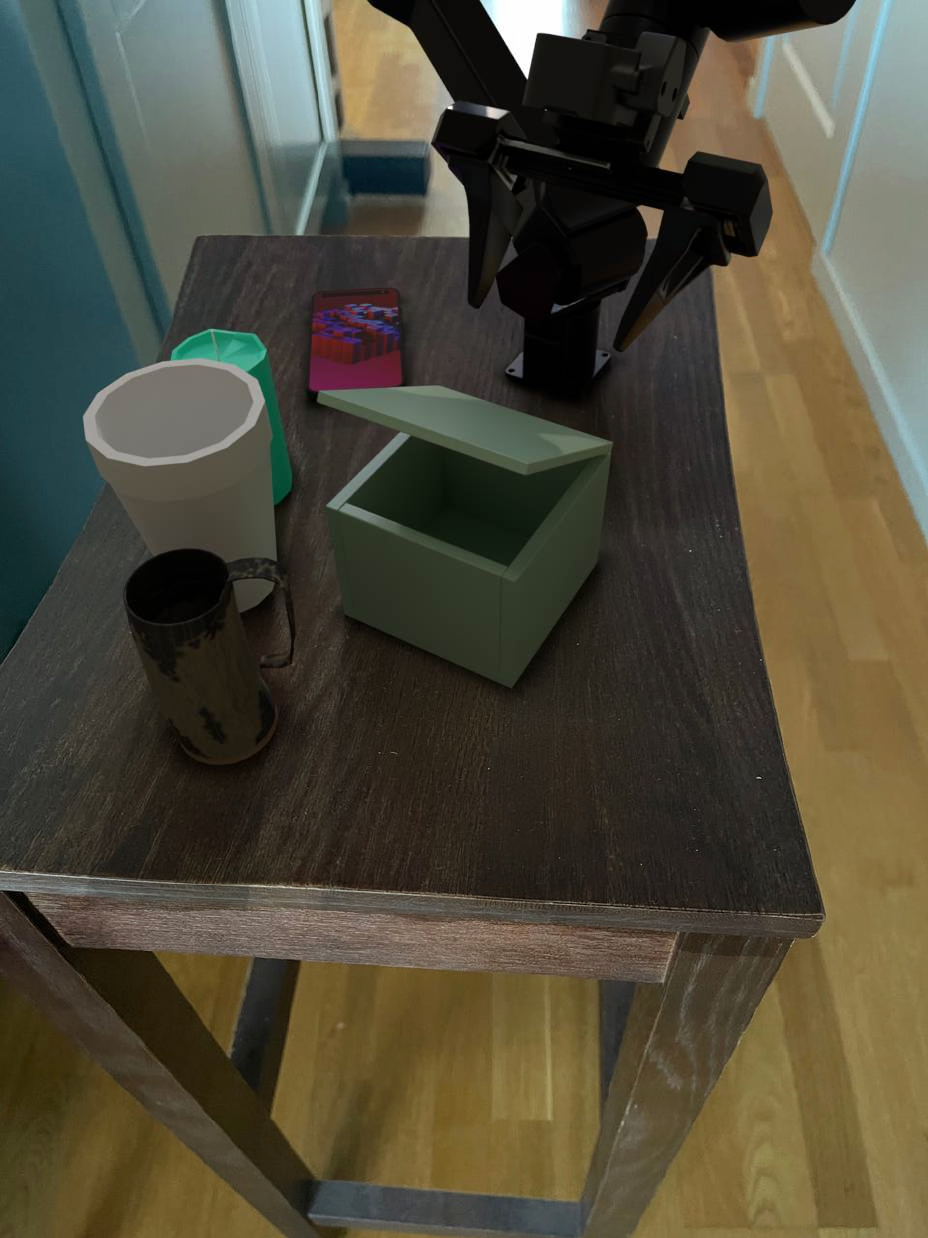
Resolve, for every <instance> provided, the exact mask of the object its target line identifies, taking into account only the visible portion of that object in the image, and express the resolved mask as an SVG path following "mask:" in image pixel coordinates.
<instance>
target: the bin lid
mask: <svg viewBox="0 0 928 1238" xmlns="http://www.w3.org/2000/svg"><path fill="white" fill-rule="evenodd" d="M316 403H318V404H320V405H323V406H326V407H329V408H332V409H335V410H337V411H340V412H343V413H345V414H346V413H347V414H349V415H352V416H355V417H357V418H360V419H363V420H365V421H369V422H372V423H374V424H377V425H380V426H382V427H385V428H388V429H391V430H394V431H397V432H399V433H400V432H403V433H405V434H408V435H411V436H414V437H417V438H420V439H422V440H425V441H428V442H431V443H434V444H437V445H440V446H442V447H445V448H448V449H451V450H454V451H457V452H459V453H462V454H465V455H468V456H471V457H474V458H476V459H479V460H482V461H485V462H488V463H491V464H493V465H496V466H499V467H502V468H505V469H508V470H510V471H513V472H516V473H519V474H522V475H529V474H533V473H536V472H540V471H544V470H547V469H551V468H555V467H558V466H562V465H565V464H569V463H573V462H576V461H580V460H584V459H587V458H591V457H595V456H598V455H602V454H606V453H609V452H611V453H612V450H613V446H614V442H613V441H611V440H608V439H604V438H601V437H599V436H596V435H592V434H589V433H586V432H583V431H580V430H576V429H573V428H571V427H568V426H565V425H561V424H558V423H556V422H553V421H549V420H547V419H544V418H540V417H537V416H534V415H530V414H527V413H524V412H522V411H518V410H516V409H513V408H509V407H506V406H502V405H500V404H497V403H494V402H491V401H488V400H484V399H481V398H479V397H476V396H472V395H469V394H466V393H463V392H460V391H457V390H454V389H451V388H448V387H445V386H442V385H437V384H435V385H416V386H415V385H414V386H405V387H390V388H369V389H347V390H325V391H319V393H318V399H317V400H316Z"/></svg>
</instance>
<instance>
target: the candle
mask: <svg viewBox="0 0 928 1238" xmlns="http://www.w3.org/2000/svg"><path fill="white" fill-rule="evenodd" d="M199 358H202V359H207V360H213V361H218V362H223V363H228V364H234V365H236V366H237V367H239V368H240V369H242V370H243V371H245V372H246V373H248V374H250V375H251V376H253V377H254V378H256V379H257V380H258V383H259V385H260V388H261V391H262V394H263V397H264V399H265V403H266V408H267V412H268V417H269V421H270V426H271V430H272V435H273V438H272V440H271V443H270V457H271V473H272V488H273V504H274V506H276V505H278V504H280V503H281V501H282V500H284V498H285V497H287V495H288V494H290V492H291V491H292V485H293V484H292V483H293V471H292V466H291V462H290V461H291V460H290V455H289V452H288V451H289V450H288V446H287V442H286V437H285V432H284V427H283V422H282V417H281V413H280V407H279V403H278V398H277V397H278V396H277V393H276V388H275V383H274V378H273V374H272V368H271V362H270V360H269V359H270V358H269V353H268V349H267V348H266V347H265V345H264V343H263V342H262V341H261V339H260V338H259V337H258V335H257V334H256V333H250V332H241V331H232V330H225V329H217V328H209V329H205V330H204V331H201V332H198V333H196V334H194V335H191V336H188V337H187V338H186V339H185V340H183V341H182V342H181V343H180V344H178V346H176V347H175V348H174V349H172V350H171V356H170V360H169V361H175V360H187V359H199Z"/></svg>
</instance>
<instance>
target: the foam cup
mask: <svg viewBox="0 0 928 1238" xmlns="http://www.w3.org/2000/svg"><path fill="white" fill-rule="evenodd" d="M82 422H83V428H84V436H85V441H86V445H87V446H88V449H89V451H90V454H91V456H92V459H93V461H94V464H95V466H96V468H97V471H98V473H99V475H100V477H101V478H102V479H103V480H104V481H106V482H107V483H108V484H109V485H110V487H111V488H112V490H113V491H114V493H115V495H116V497H117V498H118V501H119V502H120V504H121V505H122V507H123V508H124V510H125V512H126V513H127V515H128V517H129V519H130V520H131V522H132V523H133V525H134V527H135V528H136V530H137V531H138V533H139V535H140V537H141V538H142V540H143V542H144V543H145V545H146V547H147V549H148V550H149V551H150V554H151V555H152V558H153V557H155V556H156V555H158V554H161V553H164V552H168V551H171V550H176V549H184V548H193V549H202V550H206V551H210V552H212V553H214V554H216V555H218V556H220V557H221V558H222V559H223V560H224V561H225V562H226V563H229V562H233V561H236V560H239V559H243V558H253V557H254V558H268V559H271V560H274V561H277V562H278V555H277V554H278V553H277V552H278V551H277V538H276V523H275V508H274V507H275V505H274V504H273V488H272V473H271V457H270V443H271V440H272V438H273V435H272V430H271V426H270V421H269V417H268V412H267V408H266V403H265V399H264V397H263V394H262V391H261V388H260V385H259V383H258V380H257V379H256V378H254V377H253V376H251V375H250V374H248V373H246V372H245V371H243V370H242V369H240V368H239V367H237V366H236V365H234V364H228V363H223V362H218V361H213V360H207V359H202V358H199V359H187V360H175V361H170V360H164V361H160V362H157V363H154V364H151V365H148V366H145V367H142V368H139V369H136V370H133V371H130V372H126V373H125V374H124V375H122V376H120V377H119V378H118V379H116V380H115V381H113V382H112V383H110V384H109V385H107V386H105V388H103V389H102V390H100V391H99V392H97V393H96V395H95V396H94V398H93V400H92V401H91V403H90V404H89V406H88V408H87V409H86V411H85V412H84V414H83V415H82ZM233 585H234V591H235V597H236V603H237V607H238V610H239V613H240V614H241V613H243V612H246V611H248V610H250V609H252V608H255V607H256V606H258V605H259V604H261V602H263V600H265V599H266V598H267V597H268V596H269V595H270V594H271V593H272V592H273V590H274V587H275V585H276V584H275V583H274V582H272V581H268V580H265V579H242V580H237V581H234V582H233Z"/></svg>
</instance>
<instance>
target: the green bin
mask: <svg viewBox="0 0 928 1238" xmlns="http://www.w3.org/2000/svg"><path fill="white" fill-rule="evenodd" d="M611 458H612V451H611V452H609V453H606V454H602V455H598V456H595V457H591V458H587V459H584V460H580V461H576V462H573V463H569V464H565V465H562V466H558V467H555V468H551V469H547V470H544V471H540V472H536V473H533V474H529V475H522V474H519V473H516V472H513V471H510V470H508V469H505V468H502V467H499V466H496V465H493V464H491V463H488V462H485V461H482V460H479V459H476V458H474V457H471V456H468V455H465V454H462V453H459V452H457V451H454V450H451V449H448V448H445V447H442V446H440V445H437V444H434V443H431V442H428V441H425V440H422V439H420V438H417V437H414V436H411V435H408V434H405V433H403V432H400V431H399V432H398V433H397V434H396V435H395V436H394V437H393V438H392V439H391V440H390V441H389V442H388V443H387V444H386V445H385V446H384V447H383V448H382V449H381V450H380V451H379V452H378V453H377V454H376V455H374V457H373V458H372V459H371V460H370V461H369V462H368V463H367V464H366V465H365V466H364V467H363V468H362V469H361V470H360V471H359V472H358V473H357V474H356V475H355V476H354V477H353V478H352V479H351V480H350V481H349V482H348V483H347V484H346V485H345V486H344V487H343V488H342V489H341V490H340V491H339V492H338V493H337V494H336V495H335V496H334V497H333V498H332V499H331V500H330V501H329V502H328V503H327V504H326V505H325V511H326V517H327V523H328V529H329V534H330V539H331V545H332V551H333V556H334V563H335V569H336V573H337V574H336V575H337V580H338V584H339V585H338V586H339V591H340V596H341V603H342V609H343V614H344V615H345V616H347V617H349V618H352V619H353V620H356V621H358V622H361V623H363V624H365V625H368V626H370V627H372V628H375V629H377V630H379V631H381V632H384V633H386V634H388V635H390V636H392V637H394V638H396V639H399V640H401V641H404V642H406V643H408V644H411V645H412V646H415V647H417V648H418V649H421V650H423V651H426V652H428V653H431V654H432V655H435V656H437V657H439V658H441V659H444V660H447V661H448V662H451V663H453V664H454V665H457V666H459V667H461V668H464V669H467V670H469V671H471V672H473V673H475V674H478V675H479V676H482V677H484V678H487V679H489V680H491V681H493V682H495V683H498V684H501V685H502V686H505V687H507V688H509V689H513V688H514V686H515V685H516V683H517V682H518V681H519V679H520V677H521V676H522V674H523V673H524V671H525V670H526V668H527V667H528V666H529V664H530V663H531V661H532V660H533V658H534V656H535V655H536V654H537V652H538V651H539V649H540V648H541V646H542V644H543V643H544V642H545V641H546V639H547V638H548V636H549V634H550V633H551V631H552V630H553V628H554V627H555V626H556V624H557V622H558V621H559V620H560V618H561V617H562V615H563V614H564V612H565V611H566V609H568V607H569V605H570V603H571V602H572V601H573V599H574V598H575V596H576V595H577V593H578V592H579V590H580V589H581V587H582V586H583V584H584V583H585V582H586V580H587V578H588V577H589V576H590V575H591V573H592V572H593V569H594V568H595V567H596V565H597V564H598V561H599V552H600V547H601V537H602V529H603V523H604V522H603V521H604V515H605V514H604V513H605V506H606V499H607V498H606V497H607V492H608V491H607V490H608V483H609V482H608V481H609V475H610V474H609V473H610V466H611Z"/></svg>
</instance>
